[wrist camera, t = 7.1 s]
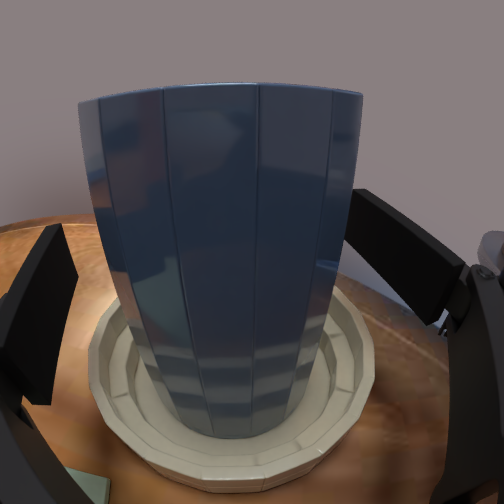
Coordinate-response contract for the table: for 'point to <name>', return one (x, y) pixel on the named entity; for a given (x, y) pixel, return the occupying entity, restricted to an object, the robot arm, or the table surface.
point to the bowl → (245, 449)
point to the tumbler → (224, 237)
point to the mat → (92, 485)
